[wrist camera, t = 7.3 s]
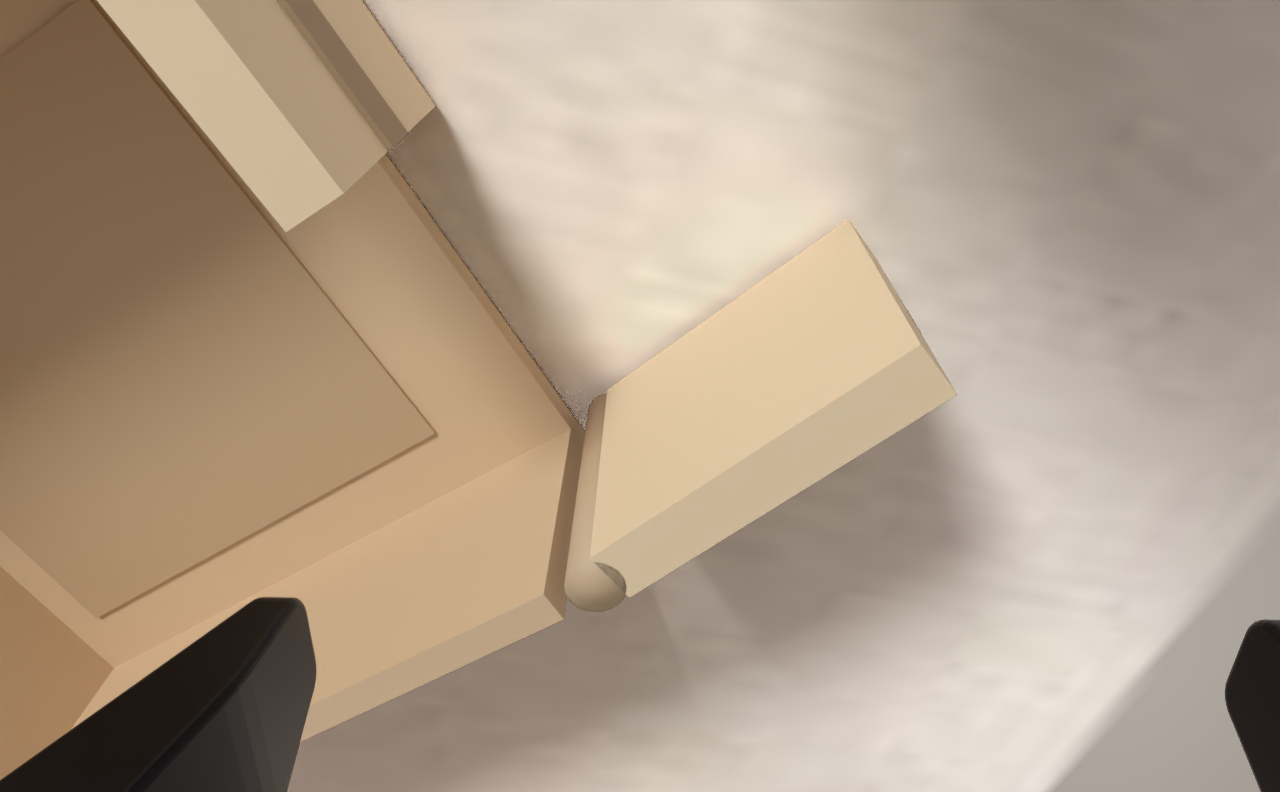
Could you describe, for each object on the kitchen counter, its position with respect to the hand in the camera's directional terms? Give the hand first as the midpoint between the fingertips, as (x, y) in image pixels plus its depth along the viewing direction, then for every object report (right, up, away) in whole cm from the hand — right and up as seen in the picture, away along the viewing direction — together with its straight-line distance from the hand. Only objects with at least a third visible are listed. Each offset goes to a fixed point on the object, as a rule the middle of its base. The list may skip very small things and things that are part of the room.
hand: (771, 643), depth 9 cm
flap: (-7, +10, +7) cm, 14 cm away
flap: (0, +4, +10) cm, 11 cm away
